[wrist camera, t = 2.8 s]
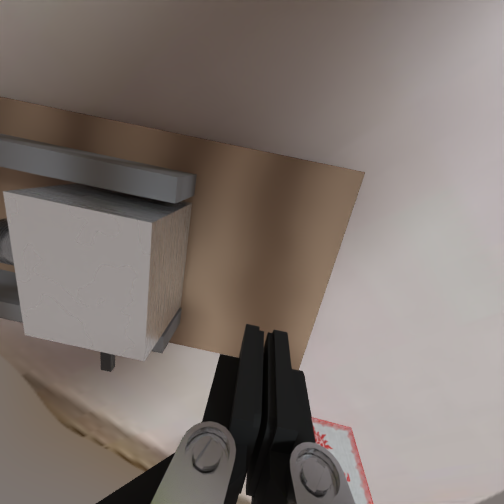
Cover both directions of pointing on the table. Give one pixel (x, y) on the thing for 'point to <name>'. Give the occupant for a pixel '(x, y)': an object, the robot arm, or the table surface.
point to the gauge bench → (198, 217)
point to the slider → (96, 266)
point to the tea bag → (344, 456)
